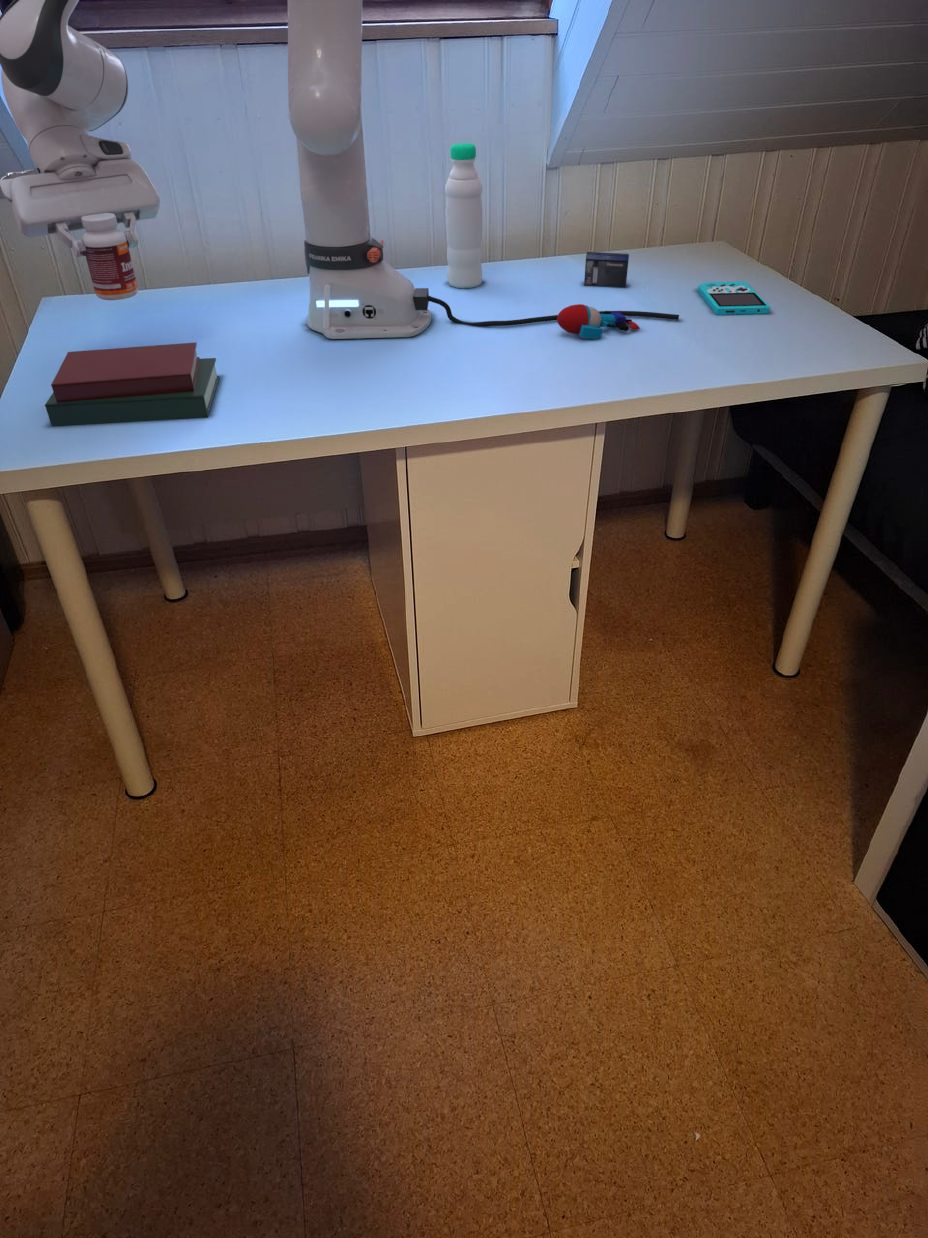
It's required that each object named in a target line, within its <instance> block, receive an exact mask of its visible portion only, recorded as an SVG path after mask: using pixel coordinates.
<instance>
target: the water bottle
mask: <svg viewBox="0 0 928 1238" xmlns="http://www.w3.org/2000/svg"><path fill="white" fill-rule="evenodd" d="M449 151H450V159H451V160H450V161H451V162H452V168H451V169H450V172H449V175H448V176H449V177H447V181H446V182H445V187H444V188H445V189H444V190H445V195H446V197H445V230H446V231H445V232H446V242H447V248H446V262H447V271H446V273H447V274H446V278H447V283H448V285H449V286H451V287H453V288H457V289H472V288H476V287H478V286H480V285H481V284H482V282H483V267H482V265H483V264H482V263H483V248H482V242H483V241H482V240H483V203H482V193H483V185H482V182H481V180H480V177H479V176H478V172H477V170H476V168H475V164H474V163H475V161H476V158H477V148H476V145H474V144H473V143H467V142H459V143H454V144H451V146H450V150H449Z"/></svg>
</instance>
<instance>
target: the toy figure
mask: <svg viewBox="0 0 928 1238" xmlns="http://www.w3.org/2000/svg"><path fill="white" fill-rule="evenodd" d="M598 311H599V310H598V309H597V308H595V307H593V306H588V305H586V304H583V303H582V304H581V303H580V304H579V303H578V304H577V303H576V304H572V305H568V306H566V307H563V309H562V310H560V311H559V313H558V314H557V315H558V317H557V320H556V322H557V324H558V326H559V327H560V328H561V329H562V330H563V331H565V332H567V333H569V334H573V335H578V336H579V337H580V338H584V339H593V340H594V339H595V340H599V339H601V338H602V334H603V330H604V328H617V329H619V331H625V332H626V331H629V329H630V330H635V331H637V330H640V329H641V328H640V326H639V325H638V324H637V323H636V322H634V321H633V319H629V318H627V316H624V315H623V314H621V313H618V312H611V311H612V310H603V311H604V312H603V313H602V314H600V313H599V312H598Z"/></svg>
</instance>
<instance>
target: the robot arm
mask: <svg viewBox="0 0 928 1238" xmlns="http://www.w3.org/2000/svg"><path fill="white" fill-rule="evenodd" d="M79 1H80V0H12V1H11V3H10V4H9V5H8V6H7V7H6V8H5V10H4V11H3V12H2V13H1V15H0V67H1V73H0V78H1V86H2V91H3V95H4V98H5V102H6V105H7V107H8V109H9V112H10V114H11V116H12V117H11V118H12V119H13V122H14V124H15V126H16V128H17V130H18V131H19V133H20V135H21V136H22V137H23V138H24V139H25V140H26V143H27V150H28V153H29V156H30V159H31V160H32V162H33V165H34V167H35V168H30V169H24V170H19V171H14V170H13V171H8V172H5V175H3V176H1V177H0V192H1V194H2V196H3V197H4V198H5V200H6V201H8V202H9V203H11V207H12V212H13V215H14V219H15V221H16V224H17V227H18V229H19V231H20V233H21V234H22V235H24V236H26V237H27V238H31V239H33V238H37V237H44V236H49V235H50V236H51V235H56V236H57V238H58V240H59V241H61V242H62V243H63V244H65V245H66V246H67V247H69V248H70V249H72V252H73V254H74V256H75V258H82V257H86V256H87V254H86V253H87V249H86V247H85V245H84V242H83V240H82V238H77V239H76V238H75V237H74V236H73V235H72V234H70V233H69V232H74V231H75V232H76V231H82V230H85V229H84V227H83V225H82V220H81V218H82V217H83V216H88V215H95V214H101V213H112V214H114V215H115V216H116V220H117V225H119V224H123V225H124V227H125V228H126V229H128V230H127V231H123V233H124V234H125V236H126V240H127V244H128V248H129V249H133V248H138V247H139V240H138V237H137V235H136V233H135V230H136V229H135V228H136V222H138V221H144V220H145V221H146V220H152V219H155V218H157V217H158V213H159V211H160V207H161V200H160V196H159V194H158V192H157V189H156V187H155V186H154V184H153V182H152V180H151V179H150V177H149V175H148V173H147V172H146V170H145V168H143V166H142V165H140V164H139V163H138V162H137V161H135V160H134V159H132V151H131V148H130V146H129V144H128V143H126V142H123V141H117V140H111V139H106V138H101V137H97V136H93V135H89V132H94V131H96V130H97V129H100V128H101V127H102V126H104V125H106V124H107V123H108V122H109V121H111V120H112V119H114V118H115V117H116V116H117V115H118V114H119V113H120V112H122V110H123V108H124V107H125V105H126V103H127V99H128V95H129V80H128V74H127V71H126V68H125V66H124V63H123V62H122V60H121V59H120V57H119V56H118V55H116V54H115V53H114V52H112V51H111V50H109V49H108V48H106V47H105V46H103V45H101V44H100V43H98V42H97V41H96V40H93V39H92V38H90V37H89V36H86V35H84V34H83V33H81V32H80V31H78V30H76V29H75V28H73V27H71V26H70V25H69V19H70V17H71V15H72V14H73V12H74V11H75V8H76V7H77V5H78V3H79ZM362 69H363V0H287V95H288V96H287V97H288V98H287V103H288V106H287V107H288V119H289V124H290V127H291V130H292V132H293V134H294V136H295V138H296V148H297V162H298V175H299V187H300V188H299V189H300V200H301V207H302V215H303V216H302V217H303V224H304V232H305V233H304V234H305V239H304V241H303V244H304V246H303V247H304V249H303V250H304V251H303V252H304V253H303V254H304V261H305V267H306V271H307V274H308V278H309V300H308V310H307V311H308V312H307V317H306V326H307V327H308V328H310V329H311V330H313V331H315V332H318V333H321V334H322V335H323V336H324V337H325V338H327V339H328V340H329V339H330V340H350V339H353V340H354V339H384V338H411V337H412V338H413V337H415V336H418V335H420V334H421V333H423V332H424V331H426V330H427V328H429V326H430V324H431V322H432V313H431V311H430V309H429V302H430V303H433V304H436V305H440V306H441V307H443V309H445V313H446V317H447V318H448V320H449V321H450V322H452V323H454V324H457V325H465V326H469V327H470V326H471V327H477V328H485V327H486V328H487V327H508V326H509V327H511V326H520V325H526V324H527V325H528V324H535V323H536V324H537V323H545V322H551V321H552V322H553V321H557V317H558V314H553V315H544V316H535V317H529V318H519V319H511V320H510V319H509V320H487V321H475V322H472V321H471V322H468V321H463V320H460V319H459V318H457V317H455V316H453V313H452V308H451V307H450V305H449V304H448V303H447V302H445V301H444V300H442V299H440V298H437V297H435V296H434V297H433V296H430V291H429V288H428V287H415V286H414V284H413V282H412V281H411V280H410V279H409V278H408V277H406V276H405V275H403V274H402V273H400V272H399V271H398V270H397V269H395V268H394V267H393V266H391V264H389V263H387V262H386V261H385V260H384V249H383V248H384V240H382V239H381V241H378V240H376V239H375V238H374V237H373V236H371V226H370V213H369V212H370V211H369V210H370V209H369V198H368V185H367V184H368V183H367V173H366V159H365V158H366V157H365V144H364V133H363V118H362V98H363V97H362V96H363V95H362V94H363V93H362V89H363V88H362V84H363V83H362V80H363V79H362V78H363V77H362V76H363V74H362V73H363V72H362V71H363V70H362ZM604 311H605V310H598V312H599V313H600V314H602V313H603V312H604ZM610 311H611V312H618V313H621V314H623V315H624V316H625V317H638V318H639V317H640V318H641V317H642V318H652V319H653V318H655V319H662V320H674V321H679V320H680V319H679V318H680V314H675V313H663V312H654V311H641V310H639V311H638V310H610Z"/></svg>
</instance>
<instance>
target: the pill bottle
mask: <svg viewBox="0 0 928 1238" xmlns="http://www.w3.org/2000/svg"><path fill="white" fill-rule="evenodd" d="M81 220H82V225H83V227H84V229H83V230H85V232H84V234H83V235H82V236H81V239H82V240H83V242H84V245H85V247H86V249H87V253H86V254H87V256H85V260H86V263H87V267H88V271H89V274H90V280H91V283H92V286H93V290H94V294H95V296H96V297H97V298H98V299H101V300H103V301H121V300H126V299H130V298H132V297H134V296H136V295H137V294H138V292H139V287H138V283H137V278H136V273H135V270H134V265H133V262H132V257H131V252H130V248H128V244H127V240H126V236H125V234H124V231H122V230H120V229H118V228H117V227H118V224H117V220H116V216H115V215H114V214H112V213H101V214H95V215H88V216H83V217H82V218H81Z"/></svg>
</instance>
